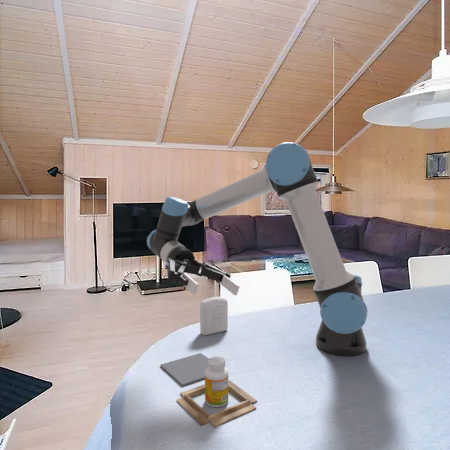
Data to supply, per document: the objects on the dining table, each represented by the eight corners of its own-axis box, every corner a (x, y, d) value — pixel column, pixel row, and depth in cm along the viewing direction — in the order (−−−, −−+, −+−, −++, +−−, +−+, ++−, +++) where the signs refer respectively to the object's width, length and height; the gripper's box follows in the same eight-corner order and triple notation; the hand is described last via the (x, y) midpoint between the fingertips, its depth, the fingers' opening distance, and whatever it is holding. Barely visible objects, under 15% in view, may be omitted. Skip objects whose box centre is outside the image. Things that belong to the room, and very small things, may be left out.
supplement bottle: (204, 395, 83) (204, 355, 82) (227, 394, 83) (227, 354, 82) (205, 408, 77) (205, 366, 77) (229, 407, 78) (229, 365, 77)
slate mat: (200, 354, 105) (200, 352, 105) (225, 371, 94) (225, 369, 94) (160, 366, 97) (160, 364, 97) (182, 386, 87) (182, 384, 87)
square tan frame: (224, 378, 91) (224, 374, 91) (262, 405, 78) (262, 401, 78) (172, 396, 82) (172, 392, 82) (206, 430, 70) (206, 426, 70)
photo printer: (222, 327, 128) (222, 293, 127) (229, 330, 124) (229, 296, 123) (198, 333, 122) (198, 298, 121) (204, 336, 118) (204, 301, 118)
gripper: (206, 271, 113) (247, 303, 97) (136, 266, 97) (171, 303, 81) (213, 249, 112) (256, 278, 96) (143, 241, 96) (180, 274, 80)
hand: (217, 290), depth 88 cm, fingers open, 13 cm apart
